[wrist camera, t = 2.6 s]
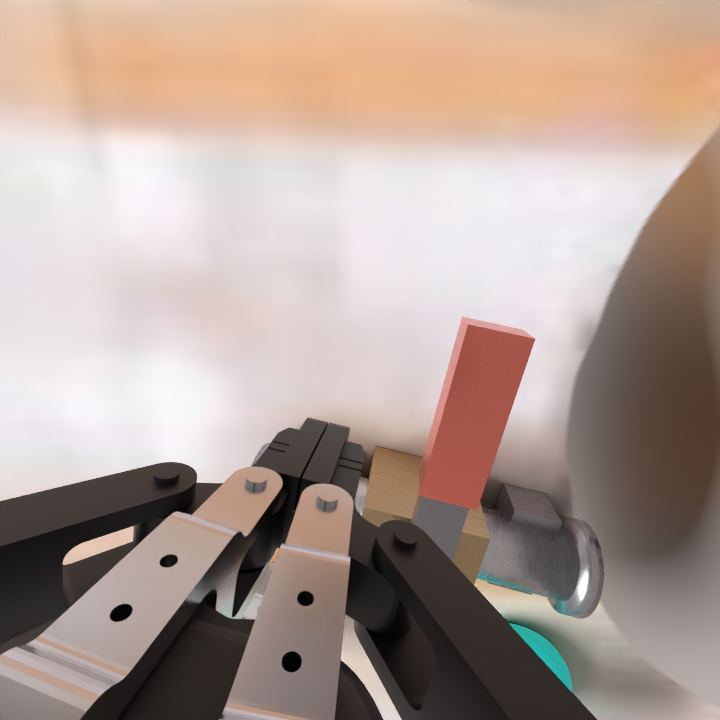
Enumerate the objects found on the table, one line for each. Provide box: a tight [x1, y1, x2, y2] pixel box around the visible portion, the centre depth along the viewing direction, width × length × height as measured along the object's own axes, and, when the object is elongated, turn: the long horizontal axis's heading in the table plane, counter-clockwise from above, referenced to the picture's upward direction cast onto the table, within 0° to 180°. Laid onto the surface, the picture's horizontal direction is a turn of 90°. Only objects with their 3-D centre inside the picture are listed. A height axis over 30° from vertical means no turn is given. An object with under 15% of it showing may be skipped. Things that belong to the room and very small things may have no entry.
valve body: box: [251, 443, 604, 619], centre depth 25 cm, size 7×22×8 cm, turn 79°
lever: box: [411, 317, 535, 561], centre depth 18 cm, size 17×4×2 cm, turn 169°
